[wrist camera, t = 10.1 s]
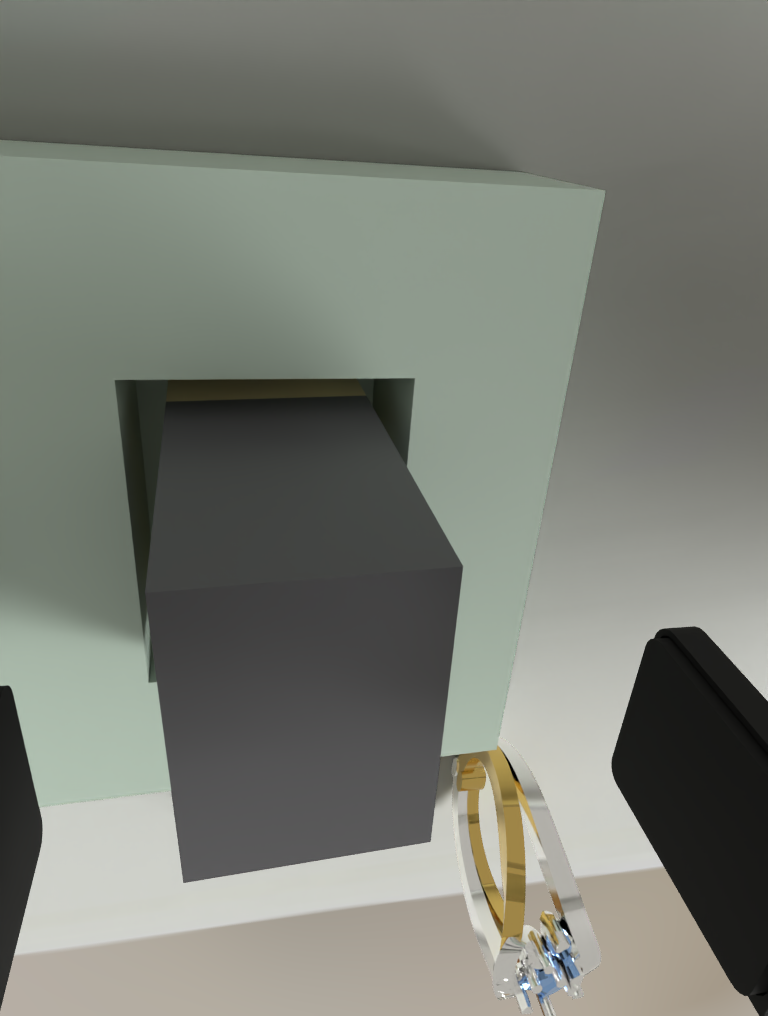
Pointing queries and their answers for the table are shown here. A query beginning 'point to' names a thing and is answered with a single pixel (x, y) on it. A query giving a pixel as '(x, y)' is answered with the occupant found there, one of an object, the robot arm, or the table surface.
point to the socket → (261, 355)
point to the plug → (295, 626)
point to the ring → (519, 883)
